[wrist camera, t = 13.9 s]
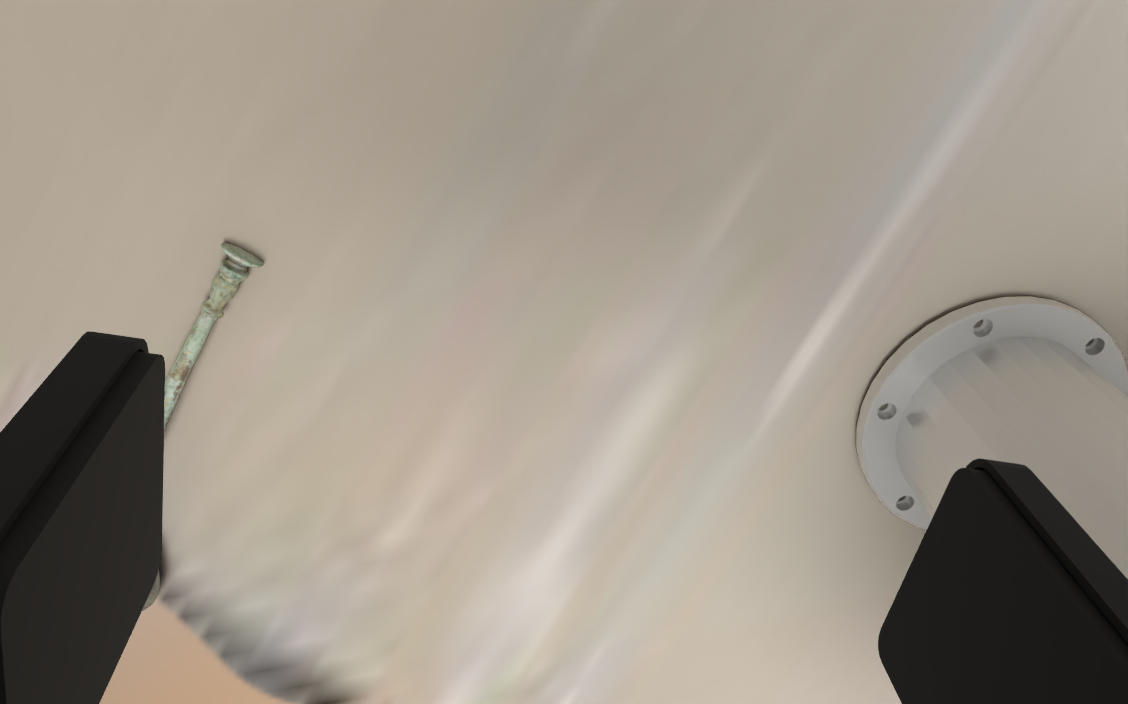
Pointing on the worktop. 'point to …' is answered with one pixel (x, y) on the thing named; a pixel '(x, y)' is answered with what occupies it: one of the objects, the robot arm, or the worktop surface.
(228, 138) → the worktop surface
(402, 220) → the worktop surface
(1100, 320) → the worktop surface
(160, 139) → the worktop surface
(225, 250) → the soupspoon
